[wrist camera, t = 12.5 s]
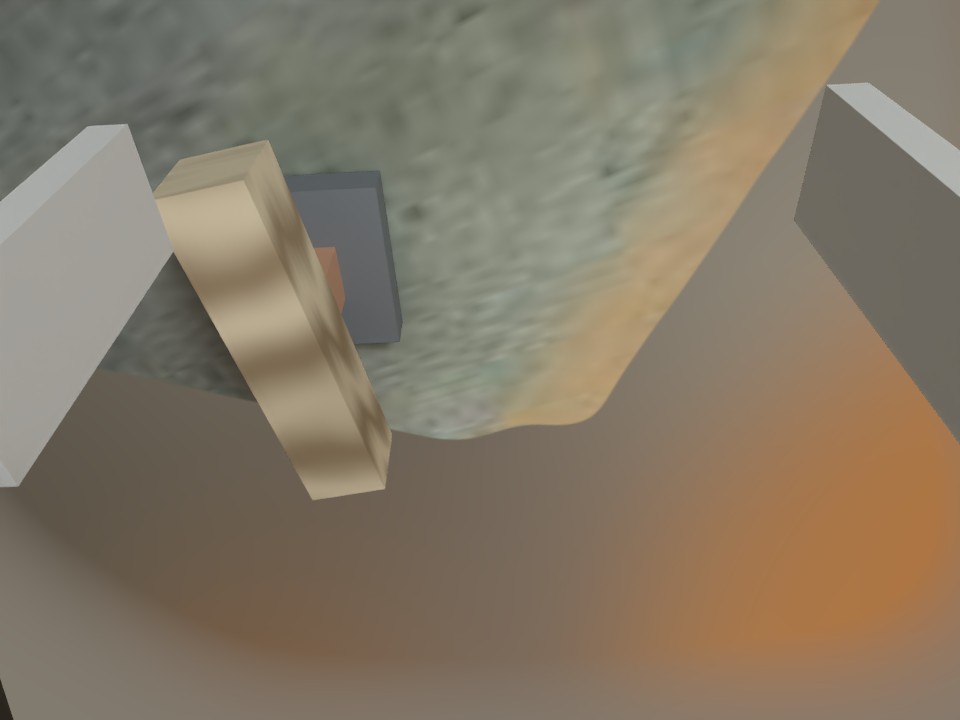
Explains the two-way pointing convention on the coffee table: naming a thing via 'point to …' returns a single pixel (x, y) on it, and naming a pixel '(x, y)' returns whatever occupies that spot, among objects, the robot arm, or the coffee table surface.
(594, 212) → the coffee table surface
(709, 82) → the coffee table surface
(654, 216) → the coffee table surface
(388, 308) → the fulcrum
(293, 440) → the beam
